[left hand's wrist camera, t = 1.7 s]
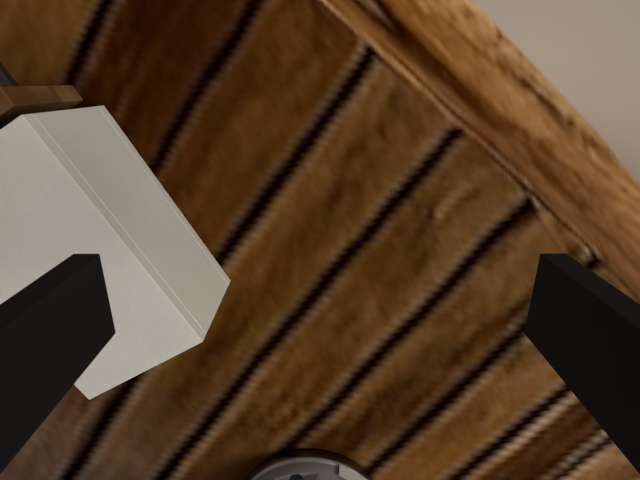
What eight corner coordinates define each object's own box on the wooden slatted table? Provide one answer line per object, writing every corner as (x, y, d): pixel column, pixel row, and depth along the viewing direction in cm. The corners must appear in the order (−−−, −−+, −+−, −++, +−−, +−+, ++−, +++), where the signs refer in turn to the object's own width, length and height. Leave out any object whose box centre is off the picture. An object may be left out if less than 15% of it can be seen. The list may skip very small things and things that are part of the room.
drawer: (-80, 72, 29) (-199, 70, 23) (11, 2, 28) (-89, -24, 21) (118, 304, 36) (71, 356, 29) (200, 258, 34) (171, 302, 28)
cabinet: (6, 170, 33) (-105, 202, 24) (103, 104, 31) (21, 114, 22) (140, 328, 38) (88, 400, 30) (230, 280, 36) (202, 342, 28)
